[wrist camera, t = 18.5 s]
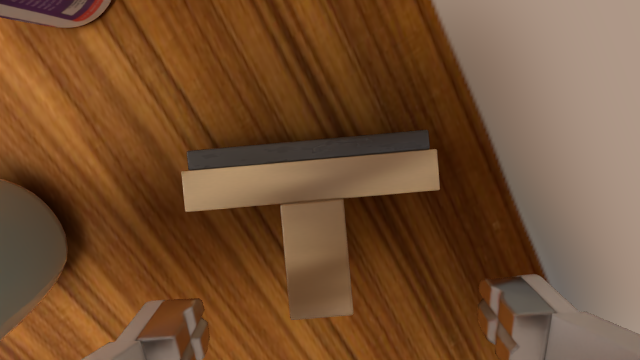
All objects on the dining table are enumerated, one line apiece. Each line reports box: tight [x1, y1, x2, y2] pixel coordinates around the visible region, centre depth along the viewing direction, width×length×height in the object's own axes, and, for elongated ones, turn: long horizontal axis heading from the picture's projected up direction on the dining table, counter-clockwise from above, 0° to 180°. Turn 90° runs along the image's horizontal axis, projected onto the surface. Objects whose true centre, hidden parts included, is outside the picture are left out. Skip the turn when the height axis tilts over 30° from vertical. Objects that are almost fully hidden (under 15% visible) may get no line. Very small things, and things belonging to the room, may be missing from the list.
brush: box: [182, 130, 440, 320], centre depth 15 cm, size 10×5×7 cm
